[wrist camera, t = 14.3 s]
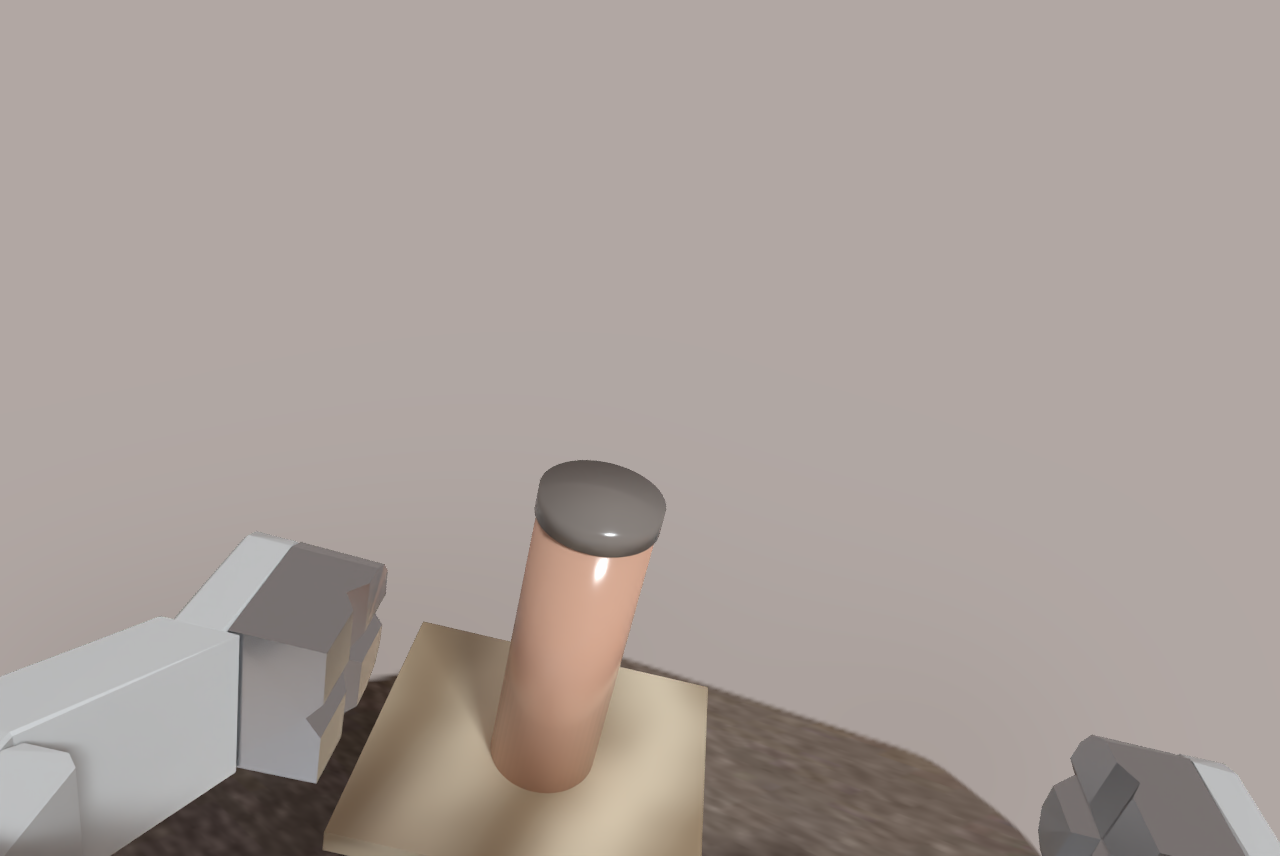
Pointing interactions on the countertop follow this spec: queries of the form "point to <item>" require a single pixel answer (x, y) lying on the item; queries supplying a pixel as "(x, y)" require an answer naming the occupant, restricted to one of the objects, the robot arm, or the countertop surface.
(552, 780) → the spice jar
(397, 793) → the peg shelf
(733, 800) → the countertop surface
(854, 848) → the countertop surface
